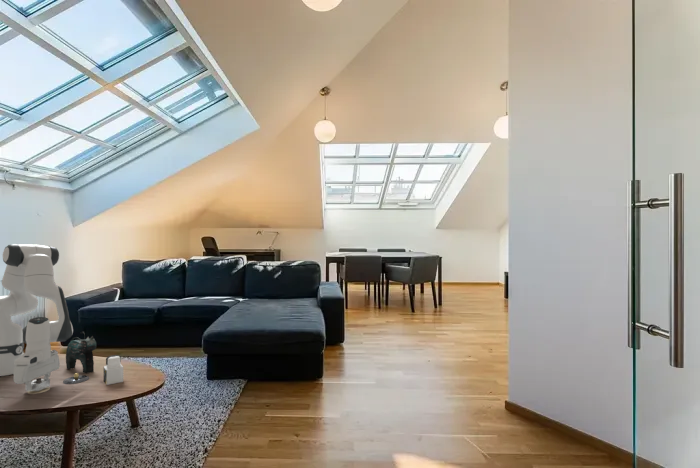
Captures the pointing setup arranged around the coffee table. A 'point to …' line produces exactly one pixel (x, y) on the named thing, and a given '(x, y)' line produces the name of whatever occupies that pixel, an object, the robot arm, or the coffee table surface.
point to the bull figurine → (81, 353)
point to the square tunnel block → (40, 385)
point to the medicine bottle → (113, 370)
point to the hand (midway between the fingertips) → (37, 386)
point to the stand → (40, 390)
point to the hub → (76, 379)
